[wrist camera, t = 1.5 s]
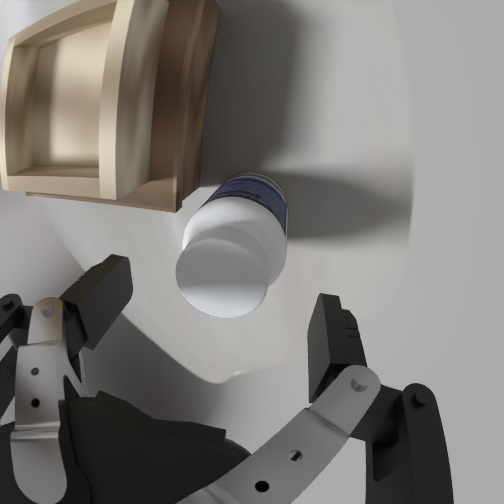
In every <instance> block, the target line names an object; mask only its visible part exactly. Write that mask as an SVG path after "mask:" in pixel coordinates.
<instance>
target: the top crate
mask: <svg viewBox="0 0 504 504" xmlns="http://www.w3.org/2000/svg"><path fill="white" fill-rule="evenodd" d="M168 6H169V2H168V1H167V0H80V1H78V2H75V3H73V4H71V5H69V6H66V7H64V8H62V9H60V10H58V11H56V12H54V13H52V14H50V15H48V16H46V17H44V18H43V19H41V20H39V21H37V22H35V23H34V24H32V25H30V26H29V27H27V28H25V29H24V30H22V31H20V32H19V33H17V34H16V35H14V36H13V37H11V38H10V39H9V42H8V46H7V51H6V56H5V62H4V68H3V74H2V82H1V91H0V172H1V182H2V190H10V191H25V192H38V193H50V194H62V195H73V196H83V197H93V198H103V199H112V200H117V199H119V198H121V197H123V196H124V195H126V194H128V193H130V192H131V191H133V190H135V189H137V188H139V187H141V186H142V185H144V184H146V183H148V182H150V147H151V128H152V114H153V103H154V92H155V83H156V75H157V67H158V60H159V54H160V47H161V41H162V36H163V30H164V25H165V20H166V15H167V11H168Z"/></svg>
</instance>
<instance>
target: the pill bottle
mask: <svg viewBox="0 0 504 504" xmlns="http://www.w3.org/2000/svg"><path fill="white" fill-rule="evenodd" d="M287 219H288V205H287V201H286V198H285V195H284V193H283V191H282V190H281V188H280V187H279V186H278V185H277V184H276V183H275V182H274V181H273V180H271V179H270V178H268V177H266V176H264V175H261V174H257V173H242V174H238V175H236V176H233V177H231V178H230V179H228V180H227V181H226V182H224V183H223V184H222V185H221V186H220V187H219V188H218V189H217V190H216V191H215V192H214V193H213V194H212V195H211V197H210V198H209V199H208V200H207V201H206V202H205V203H204V204H203V205H202V206H201V207H200V208H199V209H198V210H197V211H196V212H195V214H194V215H193V216H192V217H191V219H190V220H189V222H188V224H187V226H186V228H185V231H184V234H183V242H182V247H183V252H182V253H181V255H180V257H179V259H178V261H177V265H176V280H177V284H178V286H179V288H180V290H181V292H182V294H183V295H184V296H185V298H186V299H187V300H188V301H189V302H190V303H191V304H192V305H193V306H195V307H196V308H197V309H199V310H201V311H203V312H205V313H207V314H210V315H213V316H217V317H222V318H234V317H240V316H243V315H246V314H248V313H250V312H252V311H253V310H255V309H256V308H257V307H258V306H259V305H260V304H261V303H262V301H263V300H264V298H265V295H266V292H267V288H268V286H270V285H271V284H272V283H273V282H274V281H275V280H276V279H277V277H278V276H279V275H280V273H281V271H282V269H283V267H284V263H285V259H286V252H287Z"/></svg>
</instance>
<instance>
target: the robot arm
mask: <svg viewBox="0 0 504 504" xmlns="http://www.w3.org/2000/svg"><path fill="white" fill-rule="evenodd" d="M132 293H133V284H132V277H131V269H130V261H129V259H128V258H127V257H124V256H119V255H114V254H111V255H110V256H109V257H108V258H106V259H105V260H104V261H103V262H102V263H99V264H97V265H95V266H93V267H91V268H90V269H89V270H88V271H87V272H85V273H84V276H81V277H80V278H79V279H78V281H76V282H75V283H74V284H73V285H72V286H71V287H69V289H67V290H66V291H65V292H64V294H62V295H61V296H60V297H59V298H54V297H49V298H45V299H42V300H40V301H39V302H38V303H36V304H35V306H24V305H23V303H22V301H21V298H20V297H19V295H17V294H8V295H5V296H3V297H2V298H1V299H0V343H1V342H2V341H3V339H4V338H5V337H6V336H7V335H8V337H9V339H10V340H11V342H12V344H13V345H12V347H11V348H10V349H9V351H8V352H7V353H6V355H5V356H4V357H3V359H2V360H1V362H0V420H1V418H2V416H3V414H4V413H5V411H6V409H7V407H8V406H9V404H10V402H11V401H12V399H13V397H14V396H15V421H14V422H11V423H8V424H5V425H1V424H0V504H291V503H292V502H293V501H294V500H295V499H296V498H297V497H298V496H299V495H300V494H301V493H302V492H303V491H304V490H305V489H306V488H307V487H308V486H309V485H310V484H311V483H312V481H314V479H315V478H316V477H317V476H318V475H319V474H320V473H321V472H322V471H323V470H324V468H325V467H326V466H327V465H328V464H329V463H330V461H331V460H332V459H333V458H334V457H335V456H336V454H337V453H338V452H339V451H340V449H341V448H342V447H343V445H344V444H345V443H346V441H347V440H348V438H349V437H353V438H356V439H359V440H363V441H365V442H366V501H365V504H454V500H453V489H452V480H451V471H450V464H449V458H448V452H447V446H446V441H445V436H444V431H443V427H442V422H441V418H440V414H439V410H438V406H437V402H436V398H435V396H434V394H433V392H432V391H431V390H430V389H429V388H427V387H426V386H424V385H422V384H418V383H413V384H410V385H408V386H406V388H405V389H404V390H403V391H400V390H397V389H393V388H390V387H387V386H384V385H382V384H380V380H379V378H378V376H377V375H376V374H375V373H374V372H373V371H372V370H371V369H369V368H368V367H367V363H366V359H365V354H364V350H363V346H362V341H361V339H360V333H359V331H358V325H357V321H356V319H355V317H354V316H353V315H352V313H351V312H350V311H349V310H345V309H342V308H341V303H340V299H339V296H336V295H329V294H323V293H320V294H319V296H318V299H317V302H316V305H315V308H314V311H313V314H312V317H311V320H310V323H309V328H308V336H307V338H308V369H309V370H308V373H309V403H313V404H312V405H311V406H310V407H309V408H304V409H303V410H302V411H300V412H299V413H298V414H297V415H296V416H295V417H294V418H293V419H292V420H291V421H290V422H289V423H288V424H287V425H286V426H284V427H283V428H282V429H281V430H280V431H279V432H278V433H277V434H275V435H274V436H273V437H272V438H271V439H270V440H269V441H267V442H266V443H265V444H264V445H263V446H262V447H260V448H259V449H258V450H257V451H255V452H254V453H253V454H251V453H249V451H247V450H246V449H245V448H243V447H242V446H240V445H238V444H237V443H235V442H233V441H232V440H229V439H227V438H225V436H226V430H225V429H220V428H215V427H211V426H206V425H202V424H198V423H194V422H182V421H165V420H156V419H153V418H151V417H150V416H148V415H147V414H145V413H143V412H141V411H140V410H139V409H137V408H136V407H134V406H133V405H131V404H130V403H128V402H127V401H125V400H122V399H119V398H117V397H115V396H112V395H110V394H107V393H105V392H103V391H100V390H99V392H98V393H97V395H96V397H88V394H87V390H86V385H85V377H84V369H83V360H82V353H81V351H80V350H81V348H82V347H83V346H84V347H87V348H89V349H92V350H93V349H94V348H95V347H96V345H97V344H98V342H99V341H100V340H101V338H102V337H103V335H104V334H105V333H106V331H107V330H108V329H109V327H110V326H111V325H112V323H113V322H114V321H115V319H116V318H117V316H118V315H119V314H120V313H121V311H122V310H123V309H124V307H125V306H126V305H127V304H128V302H129V301H130V299H131V297H132Z"/></svg>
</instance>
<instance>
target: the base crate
mask: <svg viewBox="0 0 504 504" xmlns="http://www.w3.org/2000/svg"><path fill="white" fill-rule="evenodd" d="M167 1H168V2H169V6H168V11H167V15H166V20H165V25H164V30H163V36H162V41H161V47H160V54H159V60H158V67H157V75H156V83H155V92H154V103H153V114H152V128H151V147H150V182H148V183H146V184H144V185H142V186H141V187H139V188H137V189H135V190H133V191H131V192H130V193H128V194H126V195H124V196H123V197H121V198H119V199H117V200H112V199H103V198H93V197H83V196H73V195H62V194H50V193H38V192H26V195H28V196H38V197H49V198H59V199H68V200H78V201H87V202H95V203H104V204H112V205H121V206H129V207H136V208H144V209H152V210H159V211H166V212H174V213H176V212H177V211H178V210H179V209H180V208H182V201H183V200H184V199H185V198H186V197H188V196H189V195H190V194H191V193H193V192H194V191H195V190H196V189H197V188H199V177H200V163H201V151H202V139H203V128H204V119H205V109H206V100H207V92H208V84H209V76H210V69H211V62H212V55H213V48H214V42H215V36H216V30H217V24H218V18H219V13H220V8H219V6H218V5H217V3H216V2H215V1H214V0H167Z"/></svg>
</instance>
